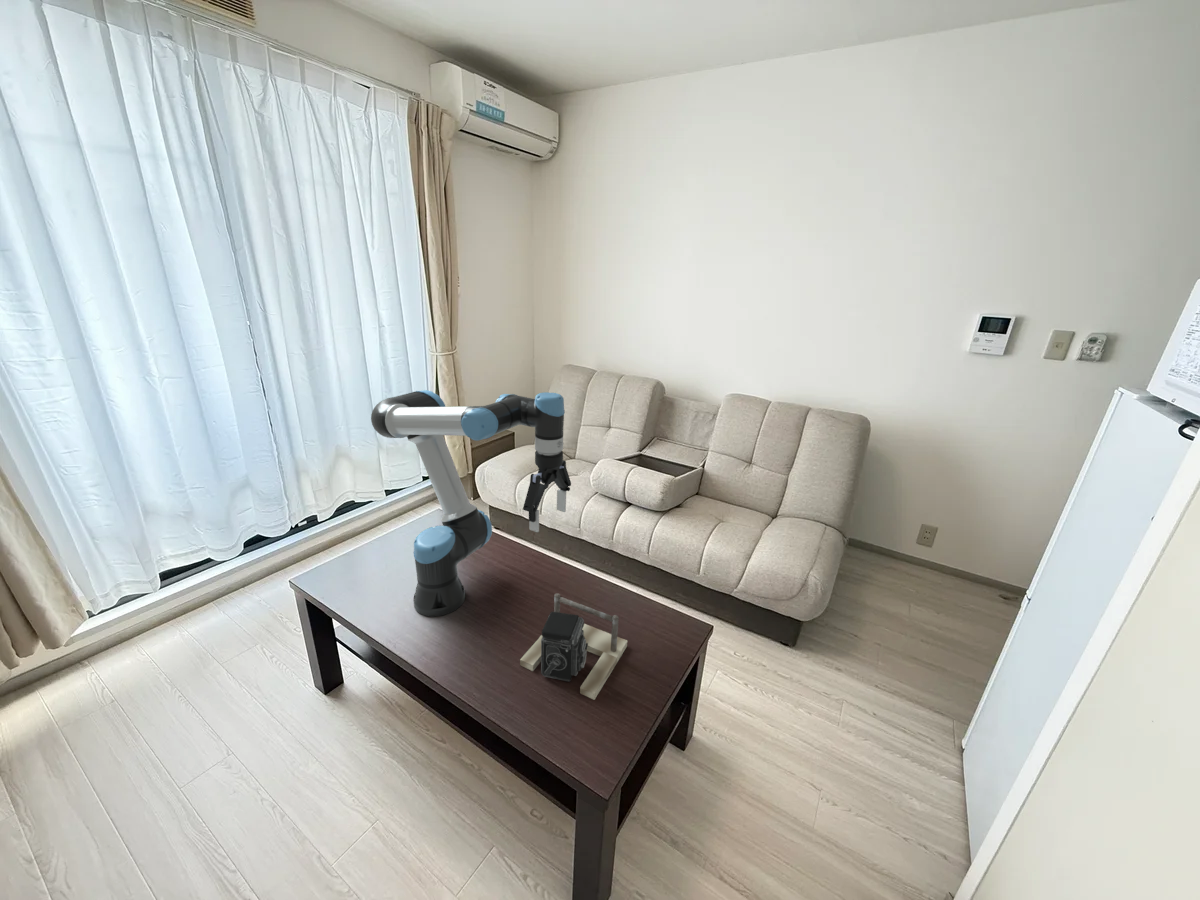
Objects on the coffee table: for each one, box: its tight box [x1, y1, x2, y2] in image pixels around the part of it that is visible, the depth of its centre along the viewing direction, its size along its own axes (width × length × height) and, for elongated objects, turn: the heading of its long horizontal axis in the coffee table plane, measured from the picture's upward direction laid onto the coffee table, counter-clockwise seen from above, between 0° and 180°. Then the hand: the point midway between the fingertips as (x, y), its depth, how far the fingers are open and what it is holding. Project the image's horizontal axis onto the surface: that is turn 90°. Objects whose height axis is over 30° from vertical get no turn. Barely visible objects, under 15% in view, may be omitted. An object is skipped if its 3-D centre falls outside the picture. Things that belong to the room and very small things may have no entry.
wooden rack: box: [519, 592, 628, 701], centre depth 123 cm, size 22×20×13 cm
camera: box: [540, 611, 588, 683], centre depth 118 cm, size 10×10×15 cm
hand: (548, 520), depth 131 cm, fingers open, 13 cm apart
